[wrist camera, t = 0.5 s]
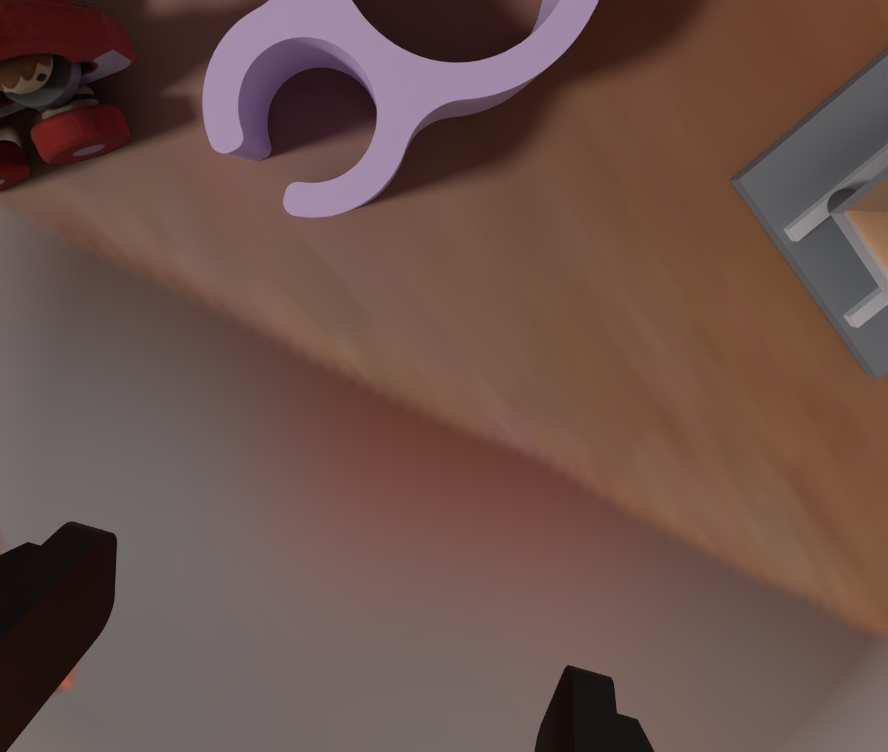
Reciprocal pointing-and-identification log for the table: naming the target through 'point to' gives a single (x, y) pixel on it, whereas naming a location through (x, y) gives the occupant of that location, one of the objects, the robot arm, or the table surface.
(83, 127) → the toy fire truck
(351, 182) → the clip
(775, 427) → the table surface
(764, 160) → the dock
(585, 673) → the robot arm
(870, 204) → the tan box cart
